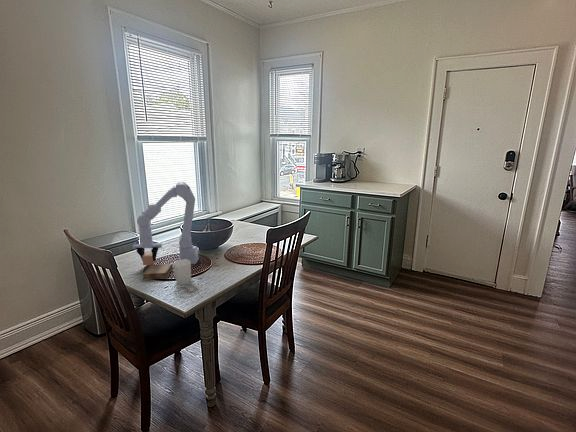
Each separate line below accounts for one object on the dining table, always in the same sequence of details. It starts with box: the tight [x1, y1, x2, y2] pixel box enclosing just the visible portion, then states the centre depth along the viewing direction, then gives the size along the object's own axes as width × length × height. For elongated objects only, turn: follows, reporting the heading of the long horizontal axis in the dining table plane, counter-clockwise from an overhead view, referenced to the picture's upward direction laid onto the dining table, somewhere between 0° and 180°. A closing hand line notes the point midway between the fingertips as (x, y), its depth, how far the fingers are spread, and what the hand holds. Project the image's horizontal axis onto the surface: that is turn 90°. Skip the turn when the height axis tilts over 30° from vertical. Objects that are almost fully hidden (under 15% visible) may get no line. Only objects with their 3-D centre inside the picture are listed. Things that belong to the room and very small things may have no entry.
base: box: [142, 263, 174, 280], centre depth 161 cm, size 11×11×3 cm
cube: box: [141, 252, 157, 266], centre depth 170 cm, size 5×5×5 cm
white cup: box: [172, 259, 192, 286], centre depth 151 cm, size 8×8×10 cm
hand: (149, 260), depth 170 cm, fingers closed on cube, 5 cm apart
